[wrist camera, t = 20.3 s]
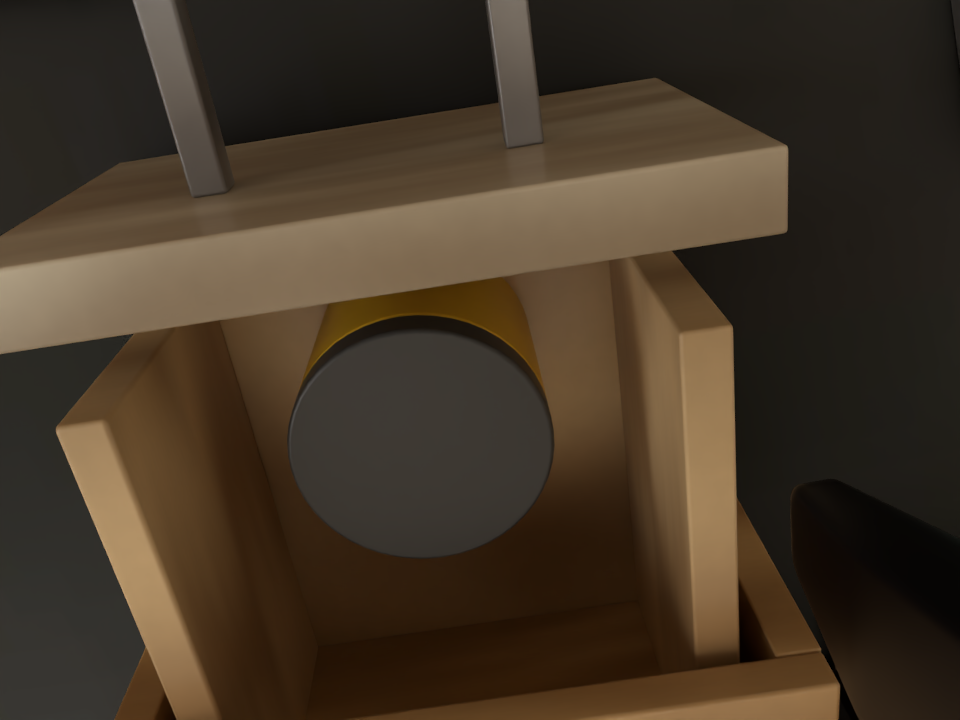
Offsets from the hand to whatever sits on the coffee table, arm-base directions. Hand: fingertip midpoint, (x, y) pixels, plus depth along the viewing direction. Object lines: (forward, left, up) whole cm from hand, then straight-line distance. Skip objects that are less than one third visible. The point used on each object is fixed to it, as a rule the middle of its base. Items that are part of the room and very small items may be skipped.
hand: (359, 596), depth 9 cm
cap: (0, +2, -10) cm, 10 cm away
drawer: (0, +1, -11) cm, 11 cm away
